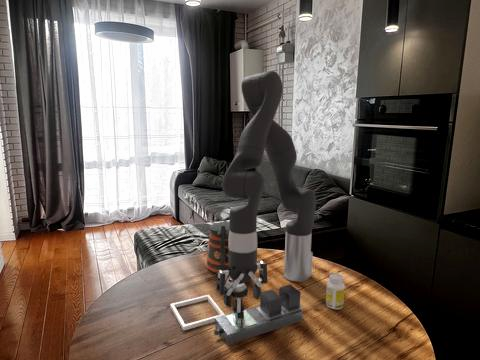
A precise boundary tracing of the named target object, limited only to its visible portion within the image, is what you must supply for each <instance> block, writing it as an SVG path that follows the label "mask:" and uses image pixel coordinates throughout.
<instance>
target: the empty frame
mask: <svg viewBox="0 0 480 360" xmlns="http://www.w3.org/2000/svg"><path fill="white" fill-rule="evenodd" d="M203 301H208V303H209V304H210V305H211V306H212V308H213V309H214V310H215V312H216V313H217V314H218V315H214V316H211V317H206V318H204V319H203V318H202V319H200V320H197V321H192V322H189V323H185V322H184V319H183V318H182V316H181V315H180V313H179V311H178V309H177V308H179V307H184V306H187V305H189V306H190V305H191V304H197V303H199V302H203ZM169 305H170V309H171V311H172V313H173V315H174V316H175V319H176V320H177V322H178V324H179V325H180V327H181V330H182V331H183V332H184V331H187V330H190V329H194V328H197V327H201V326H205V325H208V324H211V323H215V318H218V317H221V316H225V315H226V314H225V313H224V312H223V310H222V309H221V308H220V306H219V305H218V304H217V303H216V302H215V301H214V299H213V298H212V297H211V296H210V294H206V295H201V296H196V297H194V298H190V299H185V300H182V301H177V302H173V303H170V304H169Z"/></svg>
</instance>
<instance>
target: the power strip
mask: <svg viewBox="0 0 480 360" xmlns="http://www.w3.org/2000/svg"><path fill="white" fill-rule="evenodd" d="M278 291H279V292H276V291H275V290H274V289H273V288H272V289H268V290H265V291H261V295H260V297H259V305H256V306H254V307H249V308H246V309H244V311H243V312H244V317H243V320H242V323H241V326H238V323H236V321H235V314H234V315H233V312H232V313H229V314H225V316H221V317H218V318H215V322H214V326H215V327H214V329H216V330H214V331H213V333H214V336H218V335H220V337H221V338H222V339H223V341H224V343H226V345H227V346H229V345H233V344H235V343H238V342H241V341H244V340H245V341H246V340H247V339H250V338H253V337H256V336H260V335H263V334H266V333H269V332H272V331H275V330H278V329H281V328H284V327H287V326H290V325H292V324H296V323H298V322H302V321H303V319H304V318H303V317H304V314H303V313H304V310H303V309H304V307H303V306H302V305H301V295H302V294H301V293H302V292H301V291H300V290H299V289H297V288H296V287H295V286H293V285H292V284H287V285H284V286H280V287H279V289H278ZM239 325H240V324H239Z"/></svg>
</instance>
